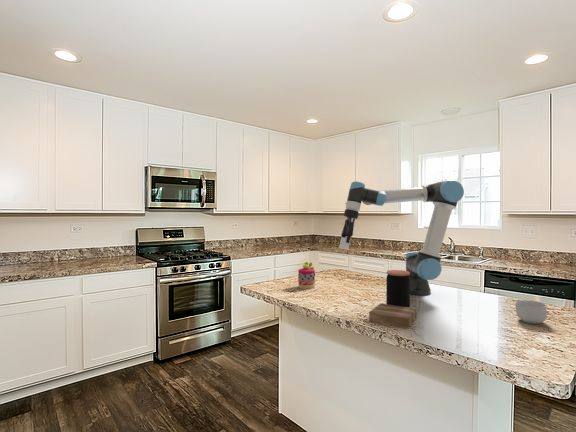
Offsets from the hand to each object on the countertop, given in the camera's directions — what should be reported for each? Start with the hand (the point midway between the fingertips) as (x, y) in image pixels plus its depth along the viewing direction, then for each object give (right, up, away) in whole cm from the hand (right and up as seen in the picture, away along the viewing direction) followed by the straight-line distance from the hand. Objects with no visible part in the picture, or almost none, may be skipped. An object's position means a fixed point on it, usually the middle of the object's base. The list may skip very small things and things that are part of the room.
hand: (343, 249), depth 177 cm
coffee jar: (+23, -27, -18) cm, 40 cm away
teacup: (+74, -27, -34) cm, 86 cm away
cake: (-18, -27, +28) cm, 43 cm away
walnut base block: (+16, -27, -33) cm, 45 cm away
